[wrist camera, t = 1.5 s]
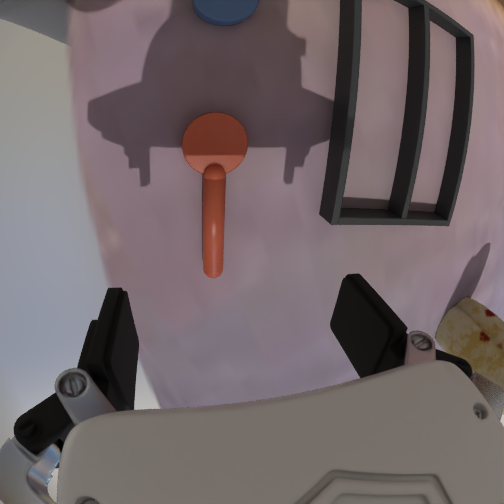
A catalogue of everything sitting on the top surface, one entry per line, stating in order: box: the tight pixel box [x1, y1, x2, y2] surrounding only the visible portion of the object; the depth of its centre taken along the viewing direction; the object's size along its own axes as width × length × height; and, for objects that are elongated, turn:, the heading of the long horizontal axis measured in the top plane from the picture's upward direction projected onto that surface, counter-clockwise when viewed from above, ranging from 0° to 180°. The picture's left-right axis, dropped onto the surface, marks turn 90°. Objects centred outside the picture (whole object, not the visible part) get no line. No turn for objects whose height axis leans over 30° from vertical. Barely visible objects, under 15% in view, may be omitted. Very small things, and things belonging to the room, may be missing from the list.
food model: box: [435, 297, 504, 414], centre depth 27 cm, size 10×7×20 cm
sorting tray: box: [319, 0, 474, 226], centre depth 17 cm, size 14×20×3 cm
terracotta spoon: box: [182, 112, 248, 278], centre depth 18 cm, size 4×11×3 cm, turn 176°
